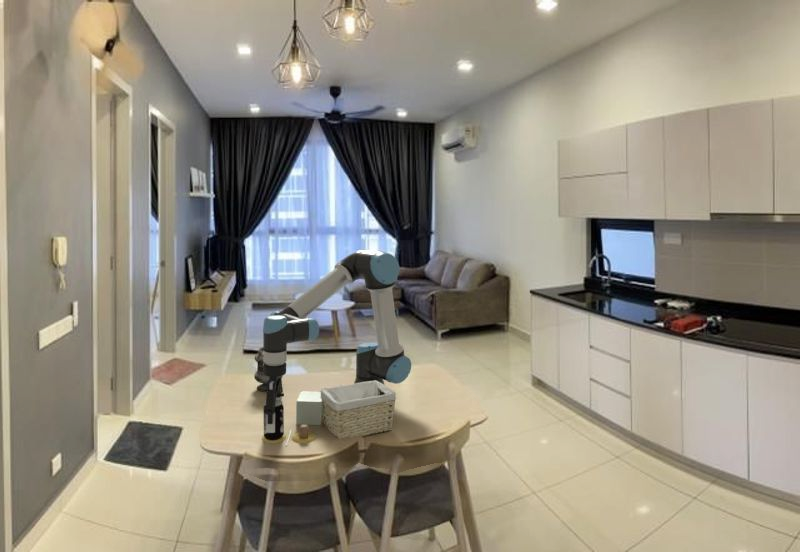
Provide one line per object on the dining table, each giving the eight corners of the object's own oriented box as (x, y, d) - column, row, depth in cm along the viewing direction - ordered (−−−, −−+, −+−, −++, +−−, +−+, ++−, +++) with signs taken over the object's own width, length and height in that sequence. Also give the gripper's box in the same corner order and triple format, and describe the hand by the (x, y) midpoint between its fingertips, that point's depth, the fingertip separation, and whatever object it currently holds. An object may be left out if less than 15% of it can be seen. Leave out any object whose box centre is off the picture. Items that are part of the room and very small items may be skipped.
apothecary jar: (253, 393, 209) (253, 352, 206) (254, 384, 220) (255, 345, 218) (282, 392, 212) (283, 351, 209) (282, 382, 223) (283, 344, 221)
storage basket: (335, 445, 166) (336, 403, 164) (317, 426, 180) (318, 387, 178) (396, 431, 178) (398, 392, 176) (375, 415, 192) (377, 378, 190)
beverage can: (278, 442, 162) (278, 407, 161) (260, 440, 164) (259, 405, 162) (287, 433, 169) (286, 400, 167) (269, 431, 170) (268, 398, 169)
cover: (325, 392, 186) (301, 391, 186) (321, 401, 176) (296, 401, 176) (324, 417, 188) (300, 416, 187) (321, 428, 178) (296, 427, 177)
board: (317, 432, 174) (317, 418, 173) (313, 450, 161) (314, 435, 161) (265, 432, 172) (265, 418, 172) (257, 450, 160) (258, 434, 159)
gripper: (270, 351, 175) (269, 409, 178) (255, 374, 150) (255, 440, 153) (291, 352, 176) (290, 409, 178) (280, 374, 151) (279, 440, 154)
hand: (274, 423), depth 166 cm, fingers open, 13 cm apart
